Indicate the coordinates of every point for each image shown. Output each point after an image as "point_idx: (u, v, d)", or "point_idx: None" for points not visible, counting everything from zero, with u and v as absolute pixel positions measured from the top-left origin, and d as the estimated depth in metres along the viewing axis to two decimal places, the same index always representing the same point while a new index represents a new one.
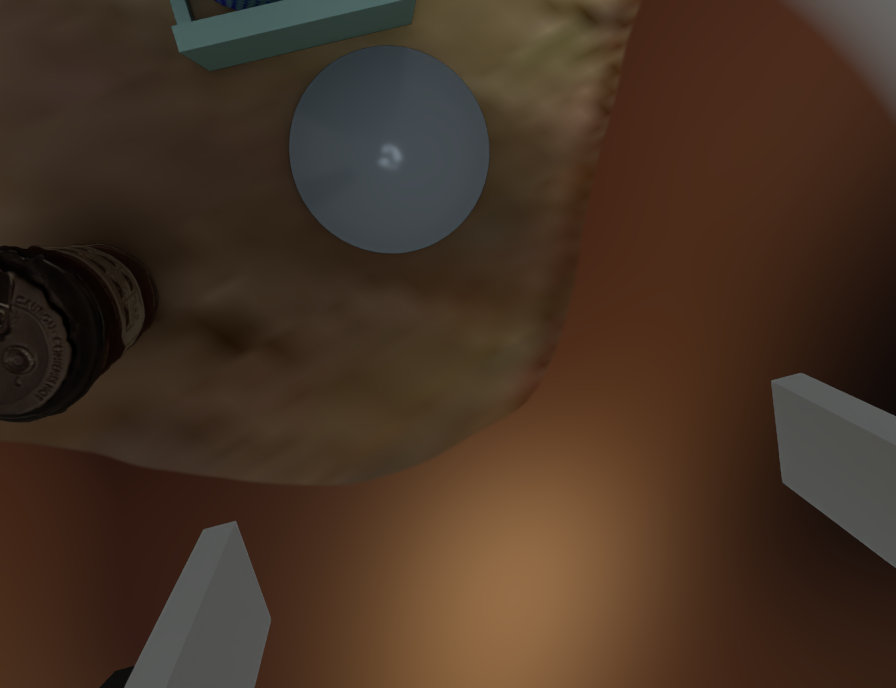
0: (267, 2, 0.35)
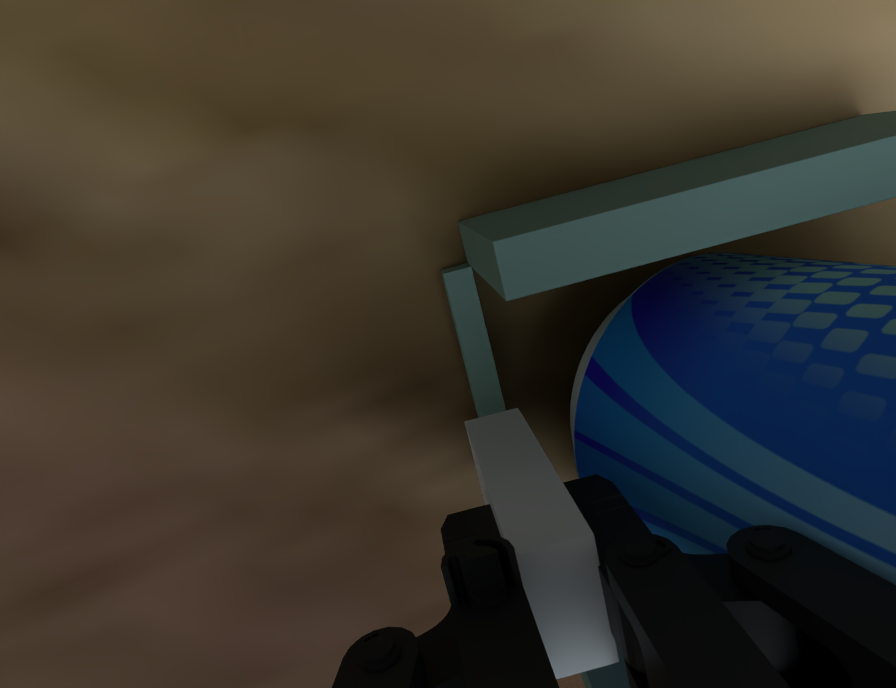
0: None
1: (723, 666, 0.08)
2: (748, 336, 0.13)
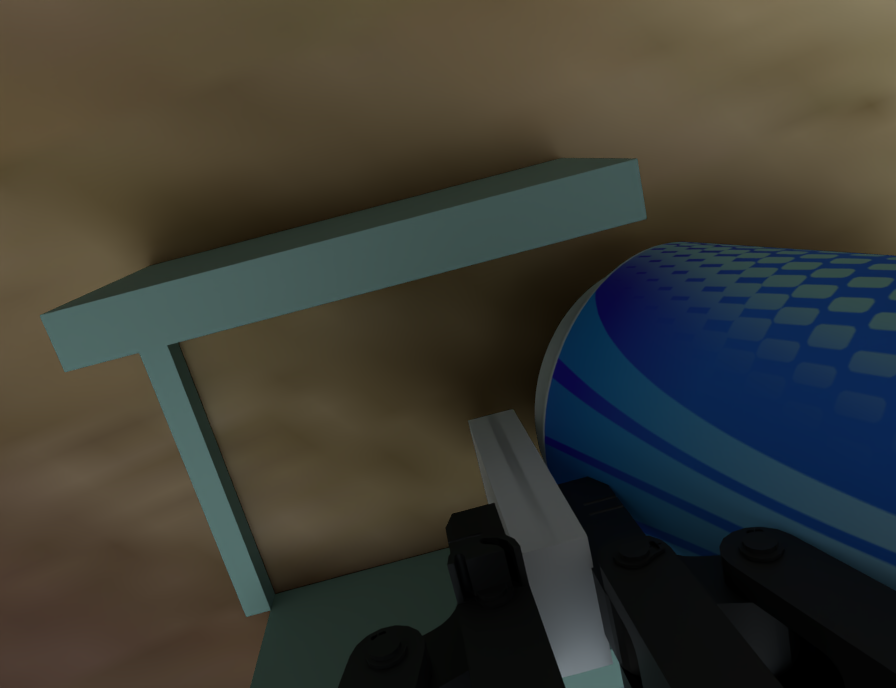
0: None
1: (717, 668, 0.08)
2: (728, 333, 0.12)
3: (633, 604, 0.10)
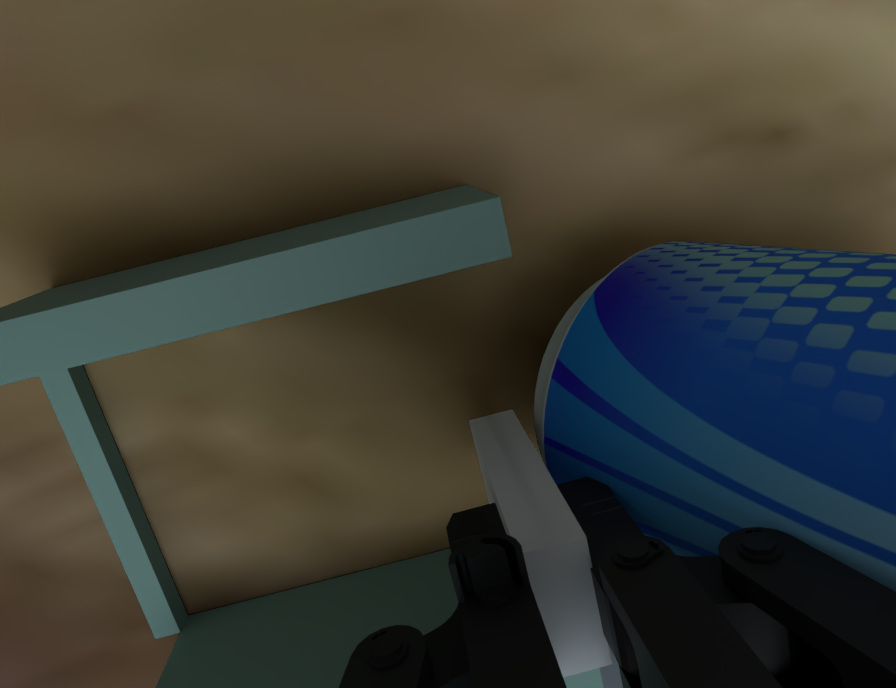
0: None
1: (716, 668, 0.08)
2: (727, 333, 0.12)
3: (632, 604, 0.10)
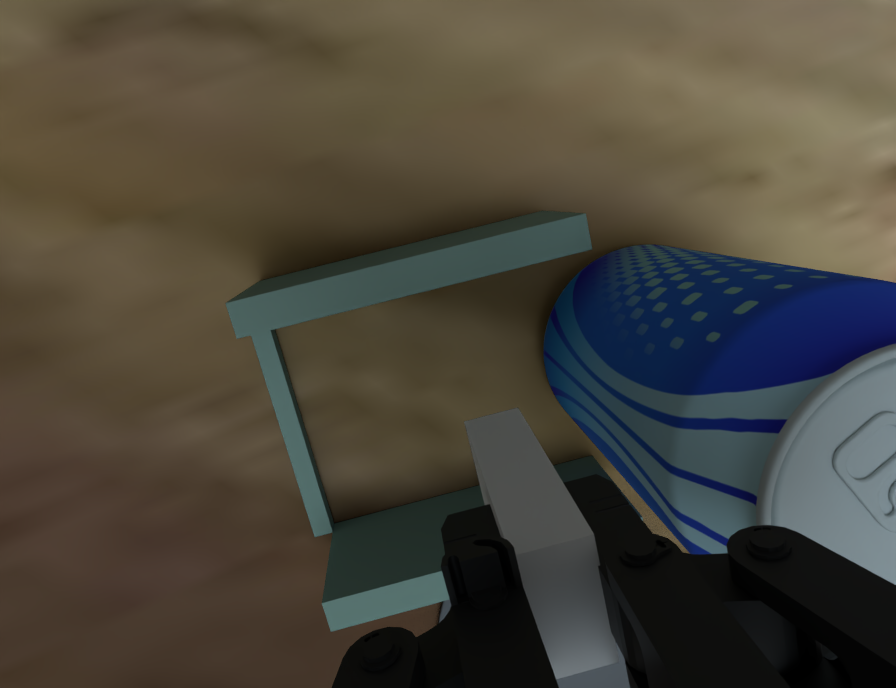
0: None
1: (723, 666, 0.08)
2: (606, 289, 0.23)
3: (639, 602, 0.10)
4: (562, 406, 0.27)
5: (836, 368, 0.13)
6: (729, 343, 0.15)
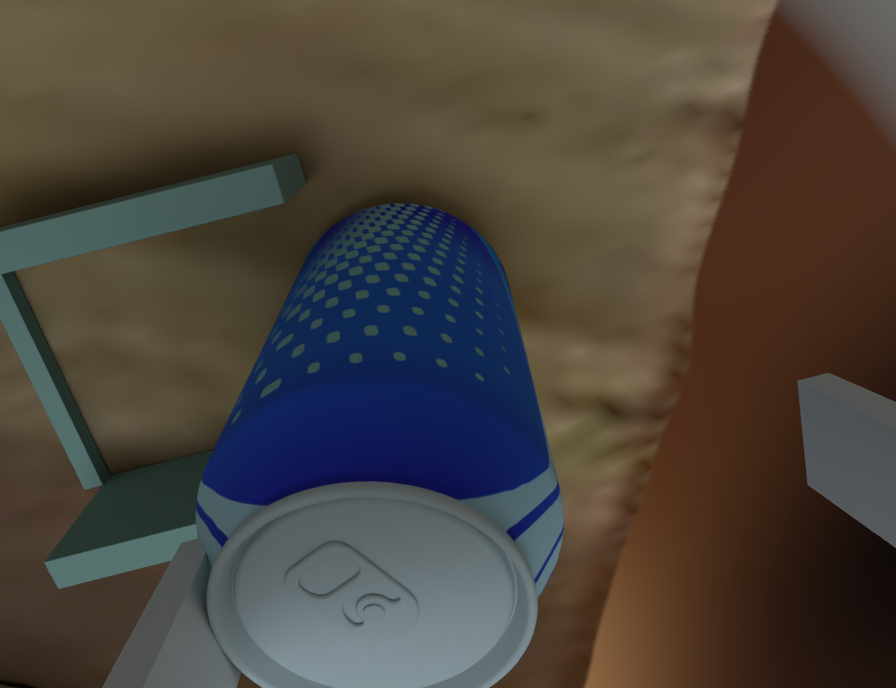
0: None
1: None
2: (303, 275, 0.21)
3: None
4: None
5: (274, 500, 0.12)
6: (230, 435, 0.14)
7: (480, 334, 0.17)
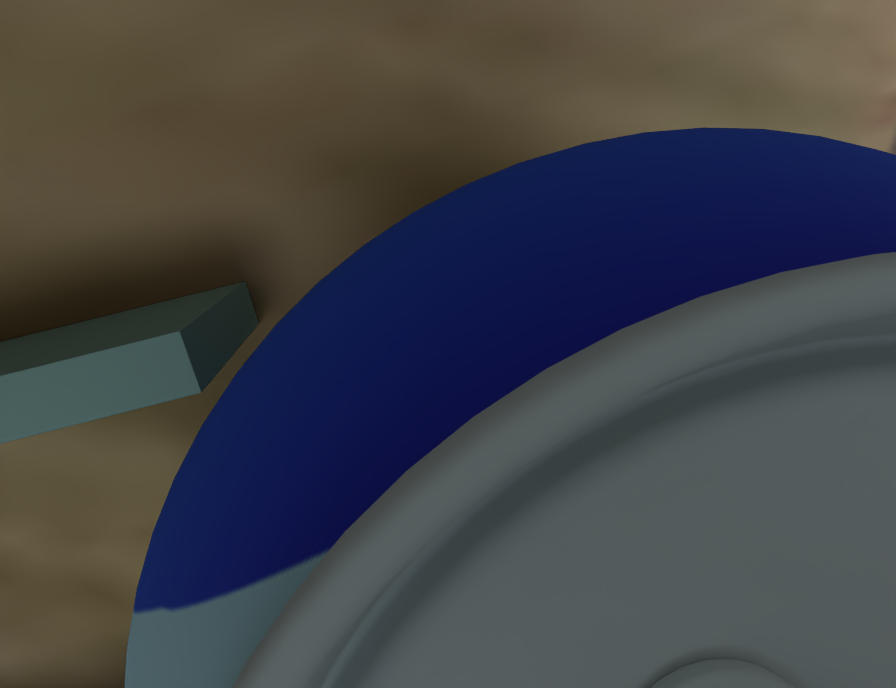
0: None
1: None
2: None
3: None
4: None
5: (396, 494, 0.03)
6: (208, 418, 0.04)
7: None
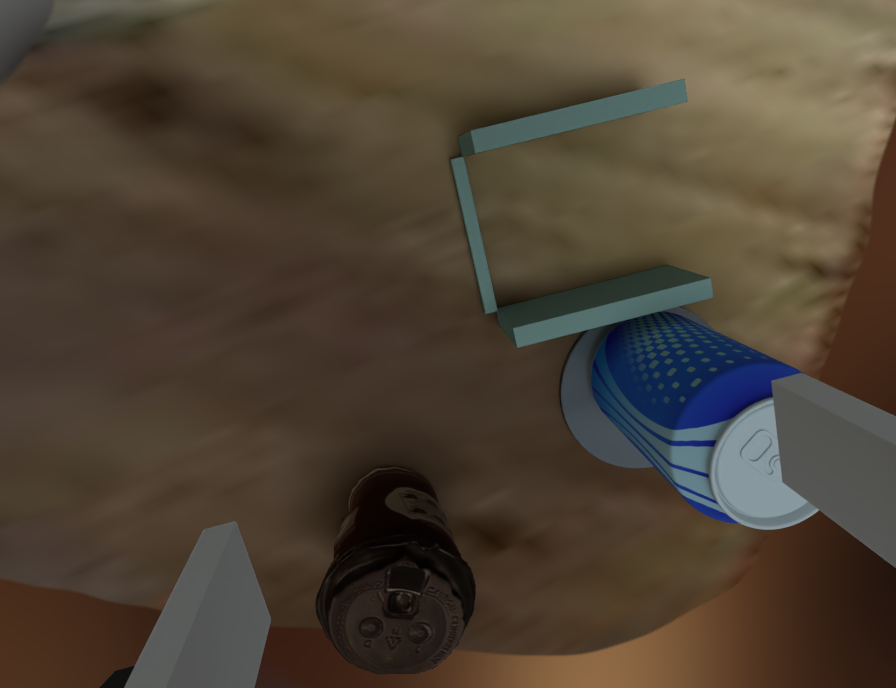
0: None
1: None
2: (625, 355, 0.40)
3: None
4: None
5: (735, 415, 0.30)
6: (689, 403, 0.31)
7: (757, 351, 0.35)
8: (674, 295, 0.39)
